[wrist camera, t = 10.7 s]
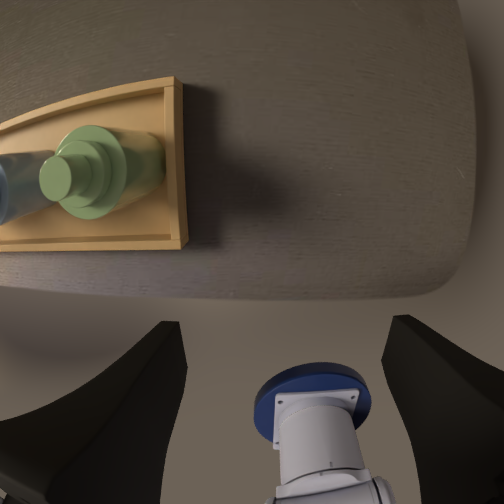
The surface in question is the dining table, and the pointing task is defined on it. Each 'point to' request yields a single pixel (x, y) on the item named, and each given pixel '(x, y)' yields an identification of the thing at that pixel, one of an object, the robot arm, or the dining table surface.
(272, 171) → the dining table surface
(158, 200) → the tray
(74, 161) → the sage bottle
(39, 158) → the blue bottle
